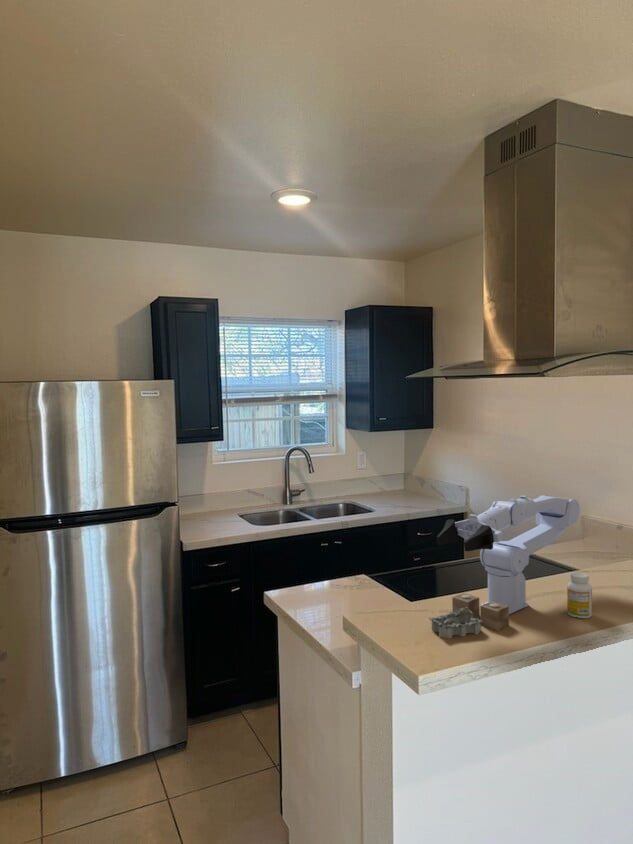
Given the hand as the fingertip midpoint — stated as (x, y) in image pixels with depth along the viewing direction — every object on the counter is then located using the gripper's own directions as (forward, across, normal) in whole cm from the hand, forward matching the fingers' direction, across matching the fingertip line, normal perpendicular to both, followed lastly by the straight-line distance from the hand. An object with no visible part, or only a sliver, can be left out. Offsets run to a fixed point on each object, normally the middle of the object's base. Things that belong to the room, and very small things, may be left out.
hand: (451, 543), depth 133 cm
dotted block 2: (-6, +5, +21) cm, 22 cm away
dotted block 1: (-6, -3, +21) cm, 22 cm away
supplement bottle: (-26, +15, +24) cm, 38 cm away
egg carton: (+3, +1, +20) cm, 20 cm away
